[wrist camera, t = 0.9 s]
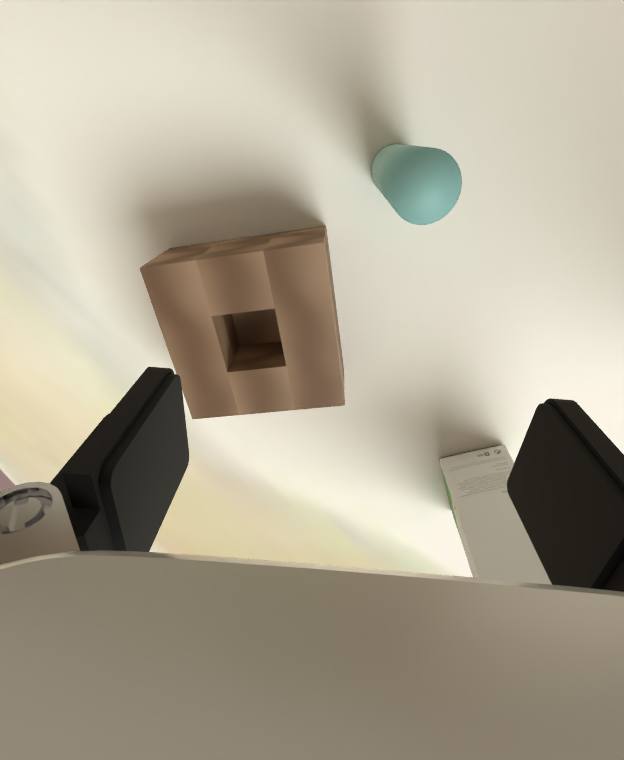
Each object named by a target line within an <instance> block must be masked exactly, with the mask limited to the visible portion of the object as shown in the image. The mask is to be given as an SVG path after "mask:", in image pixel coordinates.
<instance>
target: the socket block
mask: <svg viewBox="0 0 624 760" xmlns="http://www.w3.org/2000/svg"><path fill="white" fill-rule="evenodd" d="M140 271H141V273H142V276H143V279H144V282H145V285H146V288H147V290H148V293H149V296H150V299H151V302H152V305H153V308H154V310H155V313H156V316H157V319H158V322H159V325H160V328H161V330H162V333H163V336H164V339H165V342H166V345H167V348H168V350H169V353H170V356H171V359H172V362H173V365H174V368H175V370H176V373H177V375H179V376H180V379H181V386H182V390H183V393H184V396H185V399H186V402H187V405H188V407H189V410H190V413H191V416H192V419H200V418H211V417H222V416H233V415H244V414H255V413H266V412H277V411H288V410H299V409H309V408H320V407H331V406H342V405H345V400H344V368H343V360H342V352H341V343H340V335H339V327H338V319H337V311H336V303H335V295H334V287H333V279H332V271H331V262H330V254H329V246H328V238H327V230H326V226H323V227H316V228H309V229H302V230H295V231H289V232H282V233H275V234H268V235H261V236H254V237H247V238H240V239H233V240H226V241H219V242H212V243H205V244H198V245H191V246H184V247H177V248H170V249H168V250H167V251H165V252H164V253H162V254H160V255H159V256H157V257H156V258H154V259H153V260H151V261H150V262H148V263H147V264H145V265H144V266H142V267H141V268H140Z"/></svg>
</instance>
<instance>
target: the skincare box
mask: <svg viewBox="0 0 624 760" xmlns="http://www.w3.org/2000/svg"><path fill="white" fill-rule="evenodd" d="M440 465H441V469H442V473H443V477H444V481H445V485H446V489H447V493H448V497H449V501H450V505H451V509H452V513H453V516H454V519H455V523H456V526H457V529H458V532H459V535H460V538H461V541H462V544H463V547H464V550H465V553H466V556H467V560H468V563H469V566H470V569H471V572H472V575H473V578H483V579H494V580H505V581H516V582H527V583H538V584H550V585H552V584H551V582H550V580H549V578H548V575H547V573H546V571H545V569H544V567H543V565H542V563H541V561H540V559H539V557H538V555H537V553H536V551H535V548H534V546H533V544H532V542H531V540H530V538H529V536H528V534H527V532H526V530H525V528H524V526H523V524H522V521H521V519H520V517H519V515H518V513H517V511H516V509H515V507H514V505H513V503H512V501H511V499H510V497H509V494H508V491H507V481H508V478H509V475H510V473H511V470H512V468H513V465H514V462H513V460H512V458H511V456H510V455H509V453H508V451H507V449H506V447H505V445H500V446H495V447H490V448H485V449H481V450H476V451H471V452H467V453H462V454H458V455H453V456H449V457H445V458H441V459H440Z"/></svg>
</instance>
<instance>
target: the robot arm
mask: <svg viewBox="0 0 624 760" xmlns="http://www.w3.org/2000/svg"><path fill="white" fill-rule="evenodd" d="M188 462H189V448H188V440H187V431H186V422H185V413H184V404H183V395H182V386H181V379H180V376H179V375H177V374H174V372H173V370H172V369H170V368H158V367H148V368H147V369H146V370H145V371H144V373H143V374H142V375H141V376H140V377H139V379H138V380H137V381H136V382H135V384H134V385H133V386H132V387H131V388H130V390H129V391H128V392H127V393H126V395H125V396H124V397H123V398H122V399H121V401H120V402H119V403H118V404H117V406H116V407H115V408H114V409H113V410H112V412H111V413H110V414H108V415H107V416H105V417H104V418H103V420H102V421H101V422H100V423H99V424H98V426H97V427H96V428H95V429H94V431H93V432H92V433H91V434H90V435H89V437H88V438H87V439H86V440H85V441H84V443H83V444H82V445H81V446H80V447H79V449H78V450H77V451H76V452H75V453H74V455H73V456H72V457H71V458H70V460H69V461H68V462H67V463H66V464H65V466H64V467H63V468H62V469H61V470H60V472H59V473H58V474H57V475H56V476H55V478H54V479H53V480H52V481H51V483H43V482H30V483H24V484H20V485H16V486H13V487H10V488H8V489H6V490H3V491H1V492H0V760H624V455H623V454H622V452H621V451H620V450H619V449H618V448H617V447H616V446H615V445H614V444H613V442H612V441H611V440H610V439H609V438H608V437H607V436H606V435H605V434H604V433H603V431H602V430H601V429H600V428H599V427H598V426H597V425H596V424H595V423H594V421H593V420H592V419H591V418H590V417H589V416H588V415H587V414H586V413H585V412H584V410H583V409H582V408H581V407H580V406H579V405H578V404H577V403H576V402H575V401H572V400H562V399H548V400H546V401H545V402H544V404H543V403H542V404H539V405H538V407H537V409H536V411H535V413H534V416H533V418H532V421H531V423H530V426H529V428H528V431H527V433H526V436H525V438H524V441H523V443H522V446H521V448H520V451H519V453H518V455H517V458H516V460H515V463H514V465H513V468H512V470H511V473H510V475H509V478H508V481H507V491H508V494H509V497H510V499H511V501H512V503H513V505H514V507H515V509H516V511H517V513H518V515H519V517H520V519H521V521H522V524H523V526H524V528H525V530H526V532H527V534H528V536H529V538H530V540H531V542H532V544H533V546H534V548H535V551H536V553H537V555H538V557H539V559H540V561H541V563H542V565H543V567H544V569H545V571H546V573H547V575H548V578H549V580H550V582H551V584H552V585H550V584H538V583H527V582H516V581H505V580H494V579H483V578H472V577H461V576H449V575H437V574H426V573H414V572H402V571H390V570H378V569H367V568H355V567H343V566H331V565H318V564H306V563H293V562H280V561H268V560H255V559H242V558H230V557H217V556H203V555H187V554H171V553H155V552H149V551H150V548H151V546H152V544H153V542H154V540H155V537H156V535H157V533H158V531H159V528H160V526H161V524H162V522H163V520H164V517H165V515H166V513H167V511H168V509H169V506H170V504H171V502H172V500H173V497H174V495H175V493H176V491H177V489H178V486H179V484H180V482H181V480H182V478H183V475H184V473H185V471H186V469H187V466H188Z"/></svg>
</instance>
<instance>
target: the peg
mask: <svg viewBox="0 0 624 760" xmlns="http://www.w3.org/2000/svg"><path fill="white" fill-rule="evenodd" d="M371 174H372V179H373V182H374V183H375V185H376V186H377V188H378V189H379V190H380V191H381V193H382V194H383V195H384V197H385V198H386V199H387V200H388V202H389V203H390V204H391V206H392V207H393V208H394V209H395V211H396V212H397V213H398V215H399V216H400V217H401V218H403V219H404V220H406V221H407V222H410V223H412V224H417V225H426V224H431V223H433V222H436V221H438V220H440V219H441V218H443V217H444V216H445V215H447V214H448V213H449V212H450V211H451V209H452V208H453V207H454V205H455V204H456V202H457V200H458V198H459V195H460V191H461V185H462V177H461V172H460V169H459V166H458V164H457V162H456V161H455V159H454V158H453V157H452V156H451V155H449V154H448V153H447V152H445V151H443V150H440V149H436V148H429V147H420V146H411V145H402V144H391V145H388V146H386V147H384V148H383V149H381V150H380V151H379V152H378V153H377V155H376V156H375V158H374V160H373V163H372V168H371Z"/></svg>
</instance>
